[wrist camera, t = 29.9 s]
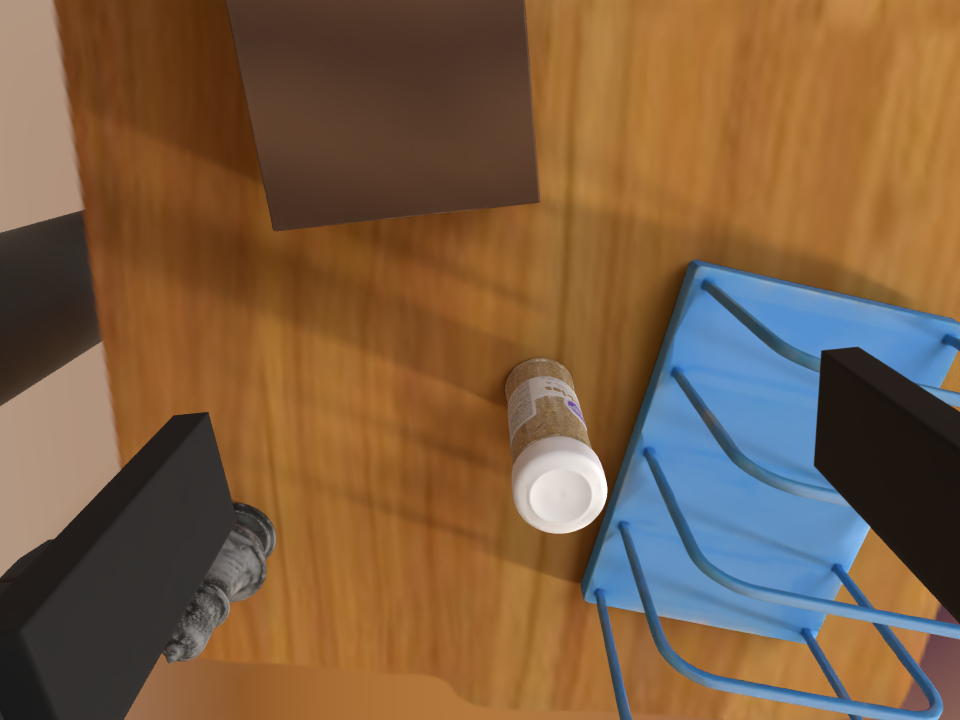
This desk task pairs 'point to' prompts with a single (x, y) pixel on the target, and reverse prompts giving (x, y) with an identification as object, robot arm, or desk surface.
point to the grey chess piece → (225, 582)
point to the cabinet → (387, 106)
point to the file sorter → (753, 477)
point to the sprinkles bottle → (551, 450)
